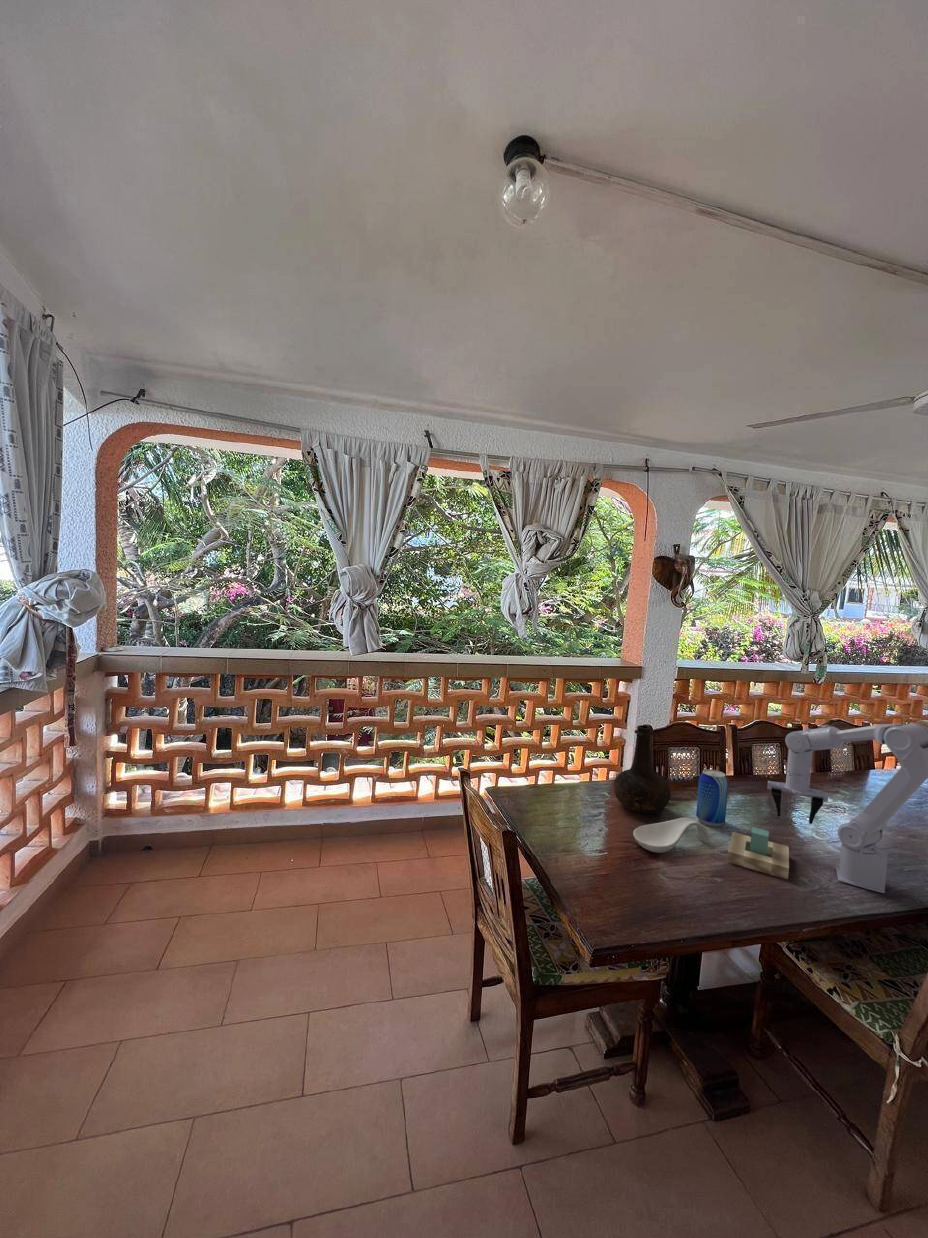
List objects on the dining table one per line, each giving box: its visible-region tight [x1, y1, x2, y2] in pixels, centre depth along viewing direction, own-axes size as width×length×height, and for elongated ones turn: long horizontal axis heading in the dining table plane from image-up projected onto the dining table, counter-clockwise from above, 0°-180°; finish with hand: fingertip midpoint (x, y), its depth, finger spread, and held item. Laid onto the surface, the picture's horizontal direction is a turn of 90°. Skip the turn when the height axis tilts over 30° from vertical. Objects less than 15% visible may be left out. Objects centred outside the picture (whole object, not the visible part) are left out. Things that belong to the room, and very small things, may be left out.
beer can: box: [695, 768, 729, 828], centre depth 164 cm, size 8×8×16 cm
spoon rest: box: [632, 817, 711, 854], centre depth 147 cm, size 24×12×7 cm, turn 109°
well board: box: [726, 831, 790, 880], centre depth 141 cm, size 14×14×3 cm
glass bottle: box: [613, 724, 671, 815], centre depth 171 cm, size 18×18×28 cm
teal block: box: [750, 826, 770, 856], centre depth 141 cm, size 4×4×8 cm
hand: (794, 819), depth 147 cm, fingers open, 7 cm apart
